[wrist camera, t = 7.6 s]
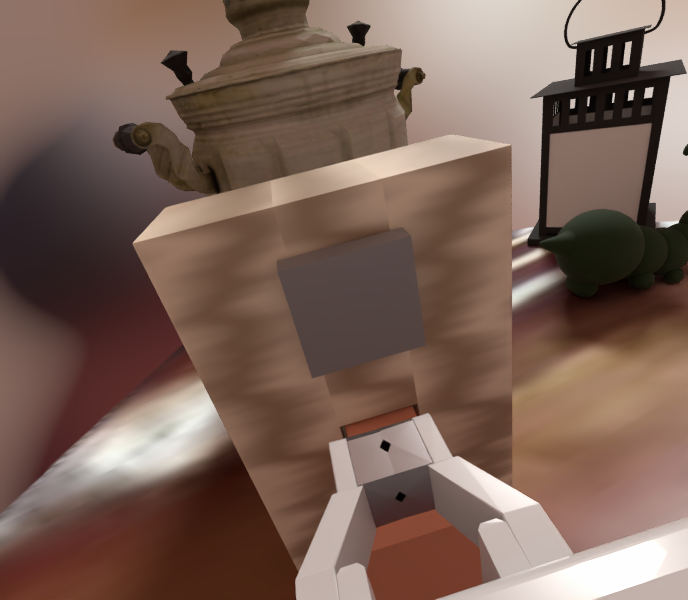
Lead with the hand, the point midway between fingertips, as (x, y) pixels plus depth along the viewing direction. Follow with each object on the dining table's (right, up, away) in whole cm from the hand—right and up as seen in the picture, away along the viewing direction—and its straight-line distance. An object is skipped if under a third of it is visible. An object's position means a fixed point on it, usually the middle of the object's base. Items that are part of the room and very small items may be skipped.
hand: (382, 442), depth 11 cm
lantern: (+43, +17, +57) cm, 73 cm away
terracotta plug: (+2, -8, +11) cm, 14 cm away
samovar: (-1, -3, +40) cm, 40 cm away
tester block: (+3, -13, +20) cm, 24 cm away
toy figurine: (+37, +6, +41) cm, 56 cm away
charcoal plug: (-1, +3, +11) cm, 12 cm away
